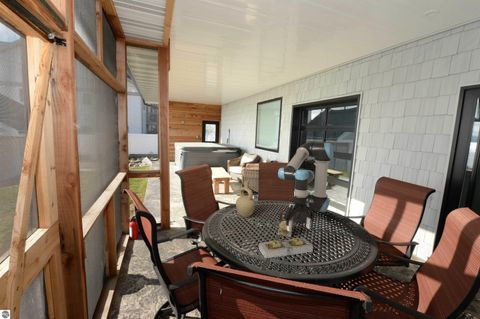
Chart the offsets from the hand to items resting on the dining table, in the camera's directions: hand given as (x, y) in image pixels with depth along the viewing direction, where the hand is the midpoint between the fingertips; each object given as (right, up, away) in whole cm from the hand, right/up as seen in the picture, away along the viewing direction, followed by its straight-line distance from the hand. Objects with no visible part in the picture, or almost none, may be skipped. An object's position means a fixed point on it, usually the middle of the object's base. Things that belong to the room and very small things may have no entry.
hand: (298, 229), depth 138 cm
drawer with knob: (-15, -13, -3) cm, 20 cm away
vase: (-31, -5, +52) cm, 61 cm away
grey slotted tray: (-8, -13, -1) cm, 15 cm away
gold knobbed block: (-1, -13, +1) cm, 13 cm away
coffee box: (-4, -10, +21) cm, 24 cm away
